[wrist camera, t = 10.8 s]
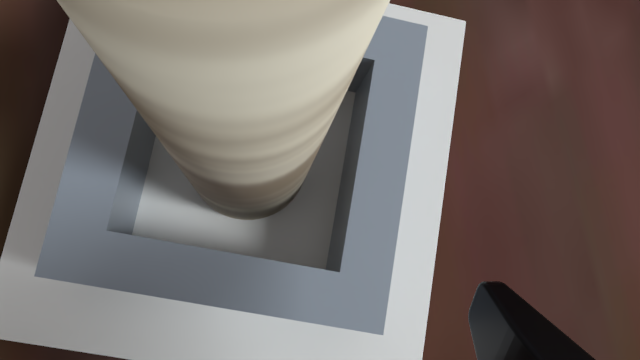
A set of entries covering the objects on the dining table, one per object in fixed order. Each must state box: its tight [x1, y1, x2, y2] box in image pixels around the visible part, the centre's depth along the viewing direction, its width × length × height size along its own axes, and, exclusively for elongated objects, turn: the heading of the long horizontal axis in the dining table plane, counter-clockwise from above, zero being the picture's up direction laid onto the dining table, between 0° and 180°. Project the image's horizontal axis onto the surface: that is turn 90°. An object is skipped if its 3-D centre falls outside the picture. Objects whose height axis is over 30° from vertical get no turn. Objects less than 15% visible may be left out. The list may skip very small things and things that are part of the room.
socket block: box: [0, 3, 466, 360], centre depth 17 cm, size 14×14×4 cm
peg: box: [57, 0, 390, 220], centre depth 11 cm, size 4×4×14 cm
